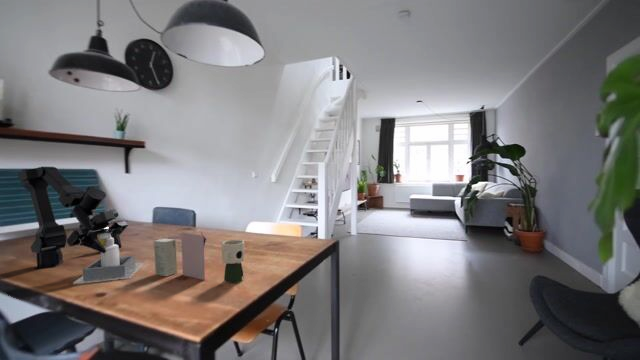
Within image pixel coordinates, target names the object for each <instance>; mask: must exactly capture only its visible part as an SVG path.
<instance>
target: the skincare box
mask: <svg viewBox="0 0 640 360" xmlns="http://www.w3.org/2000/svg"><path fill="white" fill-rule="evenodd" d="M176 242H177V241H176V239H174V238H165V237H164V238H160V239H156V240H154V241H153V248H154V270H155V275H157V276H161V277H169V276H172V275H174V274H177V273H178V267H177V266H178V265H177V264H178V263H177V260H178V259H177V243H176Z"/></svg>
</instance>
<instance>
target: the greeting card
mask: <svg viewBox="0 0 640 360" xmlns="http://www.w3.org/2000/svg"><path fill="white" fill-rule="evenodd" d="M206 241H207V238H206V237H205V236H204V233H203V231H202V229H201V230H200V235H199V234H193V233H187V232H181V258H182V259H181V260H182V261H181V262H182V267H181V268H182V276H186V277H190V278H195V279H199V280H201V281H205V280H206V279H205V278H206V277H205V275H206V274H205V272H206V271H205V245H206Z"/></svg>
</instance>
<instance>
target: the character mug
mask: <svg viewBox="0 0 640 360" xmlns="http://www.w3.org/2000/svg"><path fill="white" fill-rule="evenodd" d="M245 249H246V248H245V241H244V240H242V239H229V240H225V241H223V242H222V243H221V257H222V259H221V261H222V263H224V264H225V266H224V276H223V281H225V282H228V283H238V282H241V281H243V279H244V278H245V277H244V270H243V265H242V262H244V260H245V258H246V256H245Z"/></svg>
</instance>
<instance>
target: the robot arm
mask: <svg viewBox="0 0 640 360" xmlns="http://www.w3.org/2000/svg"><path fill="white" fill-rule="evenodd" d="M17 178H18V180H19V182H20V184H21V186H22V187H23V188H24V189H25V190H27V191H28V192H29V193H30V197H31V201H32V205H33V209H34V212H35V213H34V214H35V217H36V220H37V222H38V228H37V231H36V232H35V235H34V236H35V239H34V240H33V242H32V244H31V246H30V250H31V253H36V266H34V269H41V268H42V269H43V268H51V267H53V268H54V267H57V266H58V265H60V264H62V263H64V260H63V259H64V258H63V251H62V249H63V248H64V249H65V248H66V244H68V246H69V247H75V246H79V247H87V248H89V249H92V250H94V251H97V252H100V253H101V252H102V253H105V252H106V250H105V248H104V246H103V245H102V244H101V242H100V239H99V238H98V236H102V234H107V235H111V237H112V238H114V244H117V245H118V246H119V250H120V249H121V248H123V247H122V246H123V245H122V241H121V237H120V235H121V234H123V232H124V231H125V230H126V228H128V226H129V225H128V223H127V221H125V220H121V221H116V222H113V223H112V225H111V226H109V225H110V224H111V222H112V221H113V220H115V219H117V218H118V217H119V212H118V211H117V210H116V209H115V208H111V209H110V210H107V211H101V212H99V213H97V212H96V210H97V209H98V208H99V207H100V206H101V204H102V203H103V202H104V200H105V199H106V198H107V194H106V192H105V191H103V190H102V189H99V188H96V187H95V186H94V185H93V186H88V187H86V190H84V189H82V188H81V187H78V186H75V185H73V184H71V182H69V180H67V179H66V178H65V177H64V176H63V175H62V173H60V172H59V170H58V168H57V167H55V166H39V167H35V168H23V169H21V171H19V172H18V174H17ZM48 186H50V187H51V188H53V190H54V191H55V192H56V193H57V194H58V201H59V203H60V204H61V205H62V206H63V207H64V208H72V209H71V210H70V214H69V218H70V219H73V218H75V219H76V220H77V221H78V222H79V224H80V225H79V226H78V227H79V229H74V230H73V231H72V232H71V234H70V235H69V236H68V235H67V233H66V230H65V226H64V225H63V224H59V223H58V222H56V217H55V215H54V214H55V213H54V211H53V207H52V203H51V201H50V196H49V193H48ZM108 226H109V227H108Z"/></svg>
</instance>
